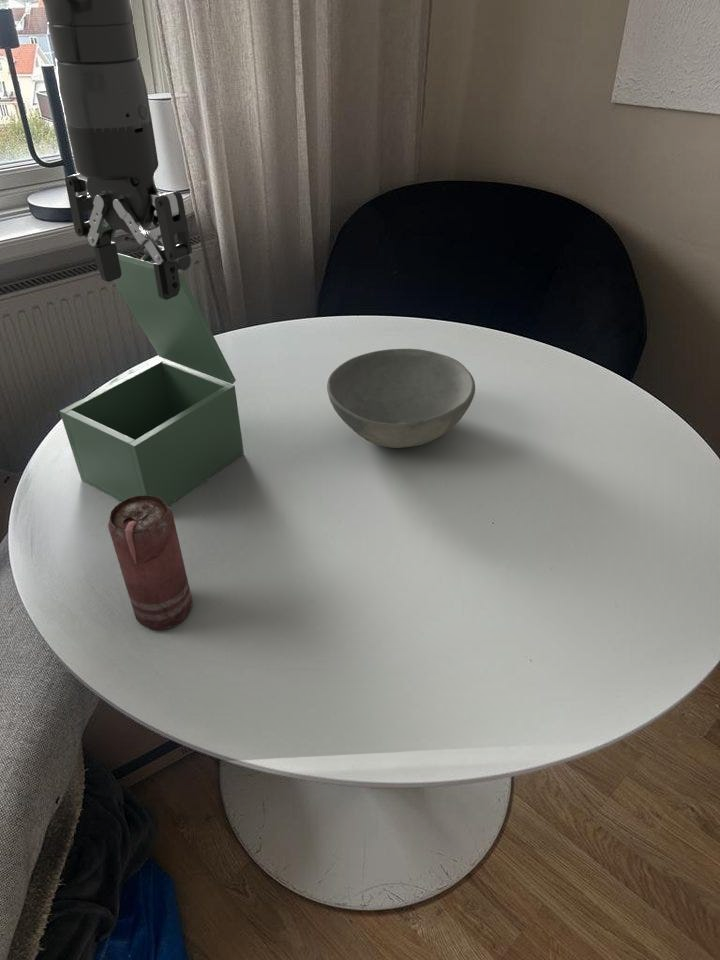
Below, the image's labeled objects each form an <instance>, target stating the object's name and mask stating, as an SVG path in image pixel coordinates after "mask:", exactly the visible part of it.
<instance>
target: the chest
mask: <svg viewBox="0 0 720 960" xmlns="http://www.w3.org/2000/svg"><path fill="white" fill-rule="evenodd" d="M59 414H60V417H61V420H62V423H63V426H64V429H65V433H66V436H67V440H68V443H69V445H70V449H71V451H72V455H73V458H74V461H75V464H76V467H77V471H78V475H79V477H80V481H82V482H84V483H86V484H87V485H89V486H91V487H93V488H95V489H97V490H98V491H100V492H103V493H104V494H105V495H108V496H109V497H112V498H113V499H115V500H118V501H119V502H120V503H121V502H122V501H124V500H126V499H128V498H131V497H135V496H141V495H150V496H156V497H158V498H161V499H162V500H163V501H164V502H166V505H168V506H169V507H170V506H172V505H174V504H175V503H177V501H179V500H180V499H182V498H183V497H185V496H186V495H187V494H189V493H190V492H191V491H193V490H194V489H196V488H197V487H198V486H200V485H201V484H203V483H205V482H206V481H207V480H209V479H210V478H212V477H213V476H215V475H216V474H217V473H218V472H220V471H221V470H222V469H224V468H225V467H227V466H229V465H230V464H231V463H233V462H234V461H236V460H237V459H238V458H240V457H241V456H243V455H244V451H245V450H244V445H243V437H242V436H243V435H242V428H241V421H240V415H239V406H238V399H237V393H236V385H234V384H231V383H228V382H225V381H223V380H220V379H217V378H215V377H212V376H209V375H207V374H204V373H201V372H199V371H196V370H193V369H191V368H188V367H185V366H183V365H180V364H177V363H175V362H172V361H169V360H167V359H164V358H162V357H160V358H159V359H156V360H154V361H153V362H151V363H149V364H147V365H146V366H144V367H141V368H139V369H138V370H136V371H134V372H132V373H130V374H128V375H126V376H124V377H122V378H120V379H118V380H116V381H114V382H113V383H111V384H109V385H107V386H105V387H103V388H101V389H98V390H97V391H95V392H93V393H91V394H90V395H88V396H85V397H84V398H82V399H80V400H77V401H76V402H74V403H71V404H70V405H68V406H66V407H65V408H63V409H60V410H59Z"/></svg>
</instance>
